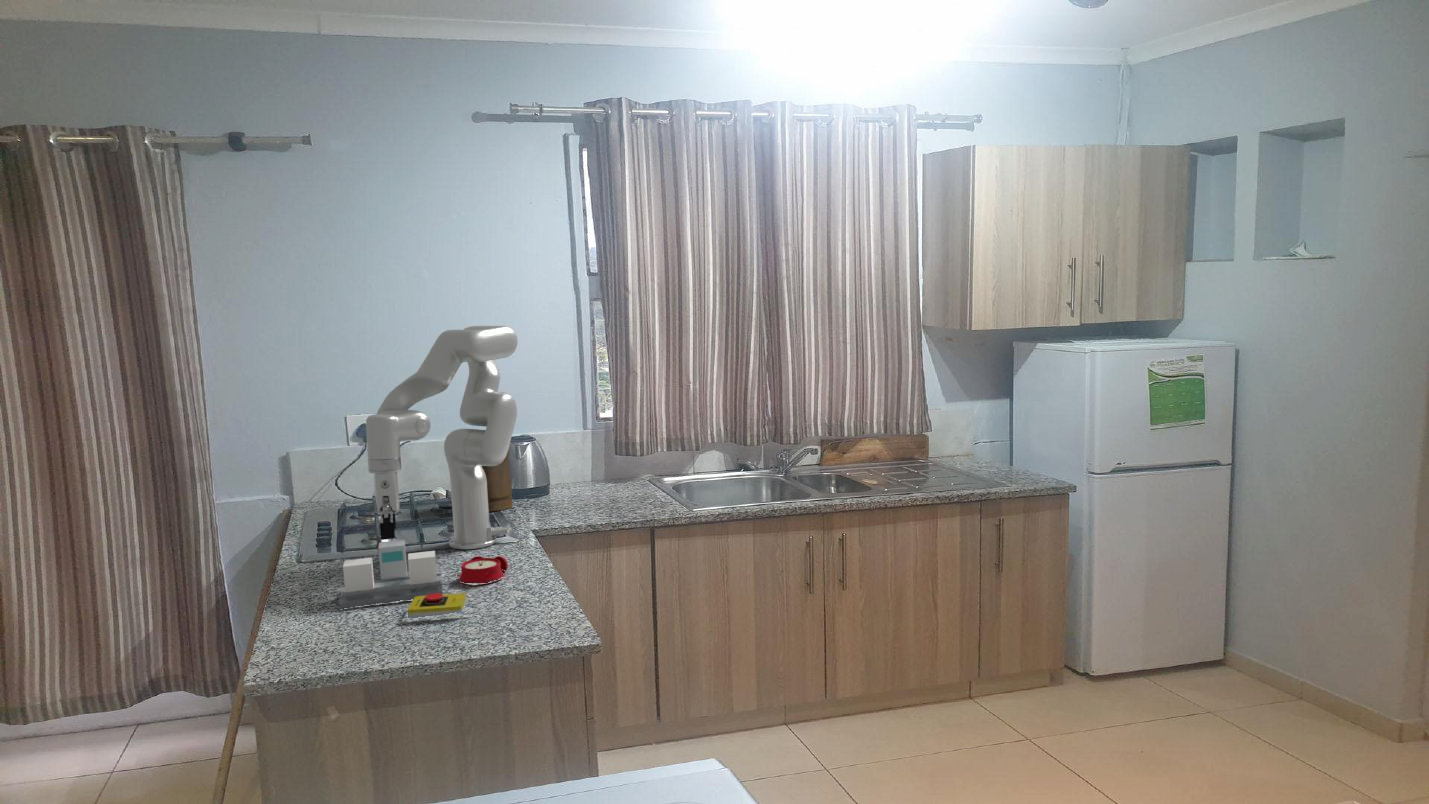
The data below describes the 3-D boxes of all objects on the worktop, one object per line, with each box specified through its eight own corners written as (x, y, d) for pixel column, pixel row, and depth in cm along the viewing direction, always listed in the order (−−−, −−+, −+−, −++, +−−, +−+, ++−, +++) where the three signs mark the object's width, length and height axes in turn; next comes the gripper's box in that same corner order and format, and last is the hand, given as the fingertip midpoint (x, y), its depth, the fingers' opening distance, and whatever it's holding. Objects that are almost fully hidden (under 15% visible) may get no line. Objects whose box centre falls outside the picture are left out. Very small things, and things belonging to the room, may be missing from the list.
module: (407, 570, 241) (404, 539, 240) (406, 577, 236) (404, 545, 235) (381, 573, 240) (379, 542, 239) (381, 580, 235) (378, 548, 234)
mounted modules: (436, 575, 229) (434, 550, 228) (437, 581, 224) (435, 556, 223) (346, 585, 223) (344, 560, 222) (345, 592, 218) (343, 566, 217)
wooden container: (497, 499, 315) (492, 432, 312) (521, 506, 304) (517, 437, 301) (455, 507, 305) (450, 439, 302) (479, 515, 294) (474, 444, 291)
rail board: (441, 579, 234) (440, 569, 233) (442, 597, 220) (442, 586, 220) (344, 590, 227) (343, 580, 227) (340, 610, 214) (339, 599, 214)
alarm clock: (450, 573, 227) (470, 541, 241) (454, 596, 229) (474, 563, 243) (493, 573, 226) (511, 541, 240) (496, 596, 228) (514, 563, 242)
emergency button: (407, 591, 214) (476, 586, 215) (408, 610, 214) (477, 605, 216) (399, 605, 205) (471, 600, 206) (400, 625, 205) (472, 620, 207)
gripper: (400, 469, 227) (404, 541, 229) (401, 458, 243) (405, 525, 245) (366, 472, 225) (370, 544, 227) (370, 460, 241) (373, 527, 243)
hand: (388, 534), depth 236 cm, fingers open, 9 cm apart
